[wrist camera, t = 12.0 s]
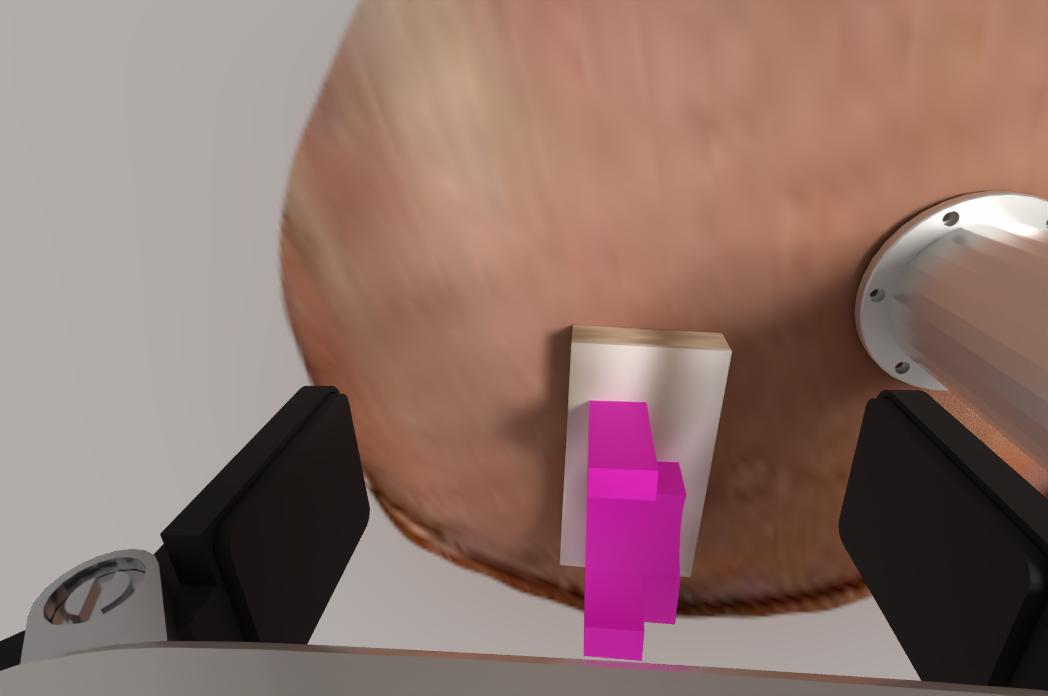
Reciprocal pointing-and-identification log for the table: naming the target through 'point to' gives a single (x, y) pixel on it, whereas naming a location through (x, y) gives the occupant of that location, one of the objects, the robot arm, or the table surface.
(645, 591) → the toy block
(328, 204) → the table surface
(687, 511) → the plinth
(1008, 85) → the table surface
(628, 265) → the table surface
